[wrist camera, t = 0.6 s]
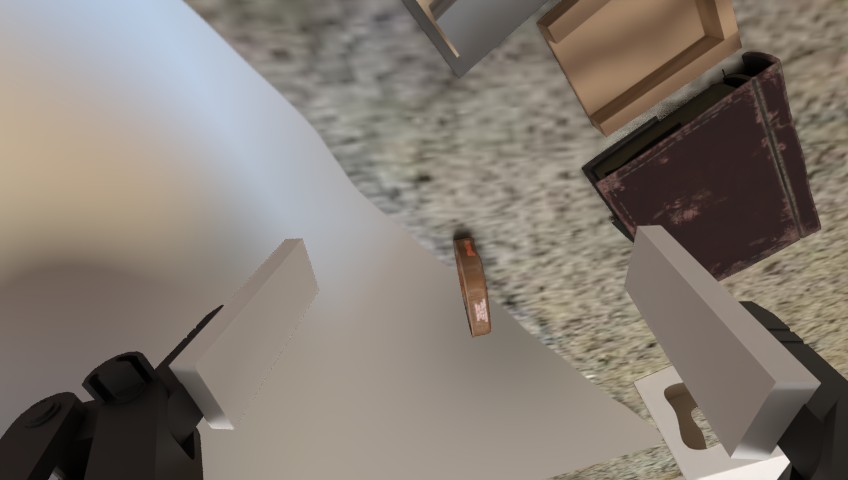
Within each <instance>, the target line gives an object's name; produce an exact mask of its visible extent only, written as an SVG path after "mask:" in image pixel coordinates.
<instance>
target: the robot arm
mask: <svg viewBox="0 0 848 480" xmlns="http://www.w3.org/2000/svg"><path fill="white" fill-rule="evenodd" d="M624 287H625V289H626V290H627V292H628V294H629V295H630V297H631V298H632V300H633V302H634V303H635V305H636V306H637V308H638V310H639V311H640V313H641V315H642V316H643V318H644V319H645V321H646V323H647V324H648V326H649V328H650V329H651V331H652V332H653V334H654V336H655V337H656V339H657V340H658V342H659V344H660V345H661V347H662V349H663V350H664V352H665V353H666V355H667V357H668V358H669V360H670V361H671V363H672V365H673V366H674V368H675V370H676V371H677V373H678V374H679V376H680V378H681V379H682V381H683V382H684V384H685V386H686V387H687V389H688V391H689V392H690V394H691V395H692V397H693V399H694V400H695V402H696V403H697V405H698V407H699V408H700V410H701V412H702V413H703V415H704V416H705V418H706V420H707V421H708V423H709V425H710V426H711V428H712V429H713V431H714V433H715V434H716V436H717V437H718V439H719V441H720V442H721V444H722V446H723V447H724V449H725V450H726V452H727V454H728V455H729V457H730V458H736V459H754V460H767V459H768V458H769V457H770V455H771V454H772V452H773V451H774V449H775V448H776V447H777V445H778V446H779V448H780V449H781V450H782V452H783V453H784V454H785V456H786V457H787V458H788V460H789V461H790V463H789V464H788V465H787V467H786V468H785V469H784V471H783V472H782V473H781V475H780V476H779V477H778V479H777V480H848V381H847V380H846V379H845V378H844V377H843V376H842V375H840V374H839V373H838V372H837V371H836V370H835V369H834V368H833V367H832V366H831V365H829V364H828V363H827V362H826V361H825V360H824V359H823V358H822V357H821V356H820V355H818V354H817V353H816V352H815V351H814V350H813V349H812V348H811V347H810V346H808V345H807V344H804V343H803V340H802V339H801V338H800V337H799V336H797V335H796V334H795V333H794V332H791V331H790V328H789V327H788V326H786V325H785V324H784V323H783V322H782V321H781V320H780V319H779V318H778V317H777V316H775V315H774V314H773V313H771V312H769V311H768V310H766V309H764V308H762V307H761V306H759V305H757V304H755V303H754V302H752V301H737V300H736V299H735V298H734V297H733V296H732V295H731V294H730V293H729V292H728V291H727V290H726V289H725V288H724V287H723V286H722V285H721V284H720V283H719V282H718V281H717V280H716V279H715V278H714V277H713V276H712V275H711V274H710V273H709V272H708V271H707V270H706V269H705V268H704V267H703V266H702V265H700V264H699V263H698V262H697V261H696V260H695V259H694V258H693V257H692V256H691V255H690V254H689V253H688V252H687V251H686V250H685V249H684V248H683V247H682V246H681V245H680V244H679V243H678V242H677V241H676V240H675V239H674V238H673V237H672V236H671V235H670V234H669V233H668V232H667V231H666V230H665V229H664V228H663V227H662V226H661V225H656V226H638V227H637V231H636V236H635V240H634V245H633V249H632V254H631V258H630V262H629V267H628V271H627V276H626V280H625V285H624ZM318 291H319V288H318V285H317V282H316V279H315V276H314V273H313V270H312V266H311V263H310V260H309V257H308V254H307V251H306V248H305V245H304V242H303V239H286V240H284V242H283V243H282V244H281V245H280V246H279V247H278V248H277V249H276V250H275V251H274V252H273V254H272V255H271V256H270V257H269V258H268V259H267V260H266V261H265V262H264V263H263V264H262V265H261V266H260V268H259V269H258V270H257V271H256V272H255V273H254V274H253V275H252V276H251V277H250V278H249V280H248V281H247V282H246V283H245V284H244V285H243V286H242V287H241V288H240V289H239V290H238V291H237V292H236V294H235V295H234V296H233V297H232V298H231V299H230V300H229V301H228V302H227V303H226V304H225V305H221V306H219V307H218V308H217V309H215V310H213V311H212V312H211V313H209V314H208V315H206V317H205V318H204V319H203V320H202V321H201V322H200V323H199V324H198V325H197V326H196V329H193V330H192V331H191V332H190V333H189V334H188V335H187V338H185V339H183V341H182V342H181V343H180V344H179V345H178V346H177V347H176V348H175V349H174V350H173V351H172V352H171V353H170V354H169V355H168V356H167V357H166V358H165V359H164V360H163V361H162V362H161V363H160V364H159V366H158V367H157V368H156V369H155V370H154V368H153V367H152V366H151V364H150V363H149V361H148V360H147V359H146V357H145V356H144V355H143V354H142V353H140V352H137V351H136V352H127V353H124V354H121V355H117V356H115V357H113V358H111V359H109V360H108V361H105V362H104V363H102V364H101V365H100V366H98V367H97V368H95V369H94V370H93V371H92V372H91V373H90V374H89V375H88V376H87V377H86V378H85V380H84V382H83V383H82V386H83V387H84V388H85V389H86V390H87V392H88V393H89V394H90V395H91V396H92V397H93V398H94V399H95V400H92V401H88V402H84V403H83V402H82V401H81V400H80V399H79V398H78V397H77V396H76V395H75V394H74V393H71V392H63V393H58V394H55V395H53V396H50V397H48V398H45V399H43V400H41V401H39V402H37V403H36V404H34V405H32V406H31V407H30V408H29V409H28V410H26V411H25V412H24V413H22V414H21V415H20V416H19V417H18V418H17V419H16V420H15V421H14V423H12V425H11V426H10V427H9V428H8V430H7V431H6V432H5V434H4V435H3V437H2V438H1V439H0V480H48V479H49V477H50V475H51V474H52V473H53V474H54V475H55V476H56V477H57V478H59V479H58V480H203V467H202V455H201V454H202V453H201V440H200V433H199V431H198V429H197V428H196V426H197V424H198V423H199V422H200V420H201V419H202V418H203V416H204V418H205V419H206V421H207V422H208V423H209V425H210V426H211V428H215V429H235V428H236V427H237V425H238V423H239V422H240V420H241V418H242V417H243V415H244V413H245V412H246V410H247V408H248V407H249V405H250V403H251V402H252V400H253V398H254V397H255V395H256V394H257V392H258V390H259V389H260V387H261V385H262V384H263V382H264V380H265V379H266V377H267V375H268V374H269V372H270V370H271V369H272V367H273V365H274V364H275V362H276V360H277V359H278V357H279V356H280V354H281V352H282V350H283V349H284V347H285V345H286V344H287V342H288V341H289V339H290V337H291V336H292V334H293V332H294V331H295V329H296V327H297V326H298V324H299V322H300V321H301V319H302V317H303V316H304V314H305V313H306V311H307V309H308V308H309V306H310V304H311V303H312V301H313V299H314V298H315V296H316V294H317V292H318Z"/></svg>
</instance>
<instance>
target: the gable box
mask: <svg viewBox="0 0 848 480" xmlns="http://www.w3.org/2000/svg"><path fill="white" fill-rule="evenodd" d="M634 385H635V386H636V388H637V390H638V392H639V394H640V396H641V398H642V400H643V401H644V403H645V405H646V407H647V409H648V411H649V413H650V414H651V416H652V418H653V420H654V422H655V424H656V426H657V427H658V429H659V431H660V433H661V435H662V437H663V439H664V440H665V442H666V444H667V446H668V448H669V450H670V452H671V454H672V455H673V457H674V459H675V461H676V463H677V465H678V467H679V468H680V470H681V472H682V474H683V476H684V478H685V479H686V480H777V479H778V477H779V476H780V475H781V473H782V472H783V471H784V469H785V468H786V467H787V465H788V464H789V463H790V461H789V460H788V458H787V457H786V456H785V454H784V453H783V452H782V450H781V449H780V448H779V446H778V445H777V447H776V448H775V449H774V451H773V452H772V454H771V455H770V457H769V458H768V459H767V460H754V459H736V458H730V457H729V455H728V454H727V452H726V450H725V449H724V447H723V446H722V444H721V443H720V444H718V445H716V446H714V447H711V448H708V449H707V448H706V444H705V440H704V436H703V434H702V431H701V430H700V428H699V427H698V426H697V424H696V423H695V422H694V420H693V419H692V417H691V411H692V410H693V409H694V408H696V407H698V405H697V403H696V402H695V400H694V399H693V397H692V395H691V394H690V392H689V391H688V389H687V387H686V386H685V384H684V382H683V381H682V379H681V378H680V376H679V374H678V373H677V371H676V370H675V368H674V366H673V365H671V366H669V367H667V368H664V369H662V370H660V371H657V372H655V373H653V374H651V375H648V376H646V377H644V378H641V379H639V380H637V381H634Z"/></svg>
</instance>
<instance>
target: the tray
mask: <svg viewBox="0 0 848 480" xmlns="http://www.w3.org/2000/svg"><path fill="white" fill-rule="evenodd" d="M537 25H538V26H539V28H540V30H541V32H542V34H543V36H544V37H545V39H546V41H547V43H548V45H549V47H550V48H551V50H552V52H553V54H554V56H555V57H556V59H557V61H558V63H559V65H560V67H561V68H562V70H563V72H564V74H565V76H566V78H567V79H568V81H569V83H570V85H571V87H572V88H573V90H574V92H575V94H576V96H577V98H578V99H579V101H580V103H581V105H582V107H583V108H584V110H585V112H586V114H587V116H588V118H589V119H590V121H591V123H592V125H593V126H594V127H595V128H597V129H598V130H599V131H600V132H601V133H602V134H604V135H605V136H606V137H607V136H609V135H610V134H612V133H613V132H615V131H616V130H618V129H619V128H621V127H622V126H624V125H625V124H627V123H628V122H630V121H631V120H633V119H634V118H636V117H637V116H639V115H640V114H642V113H643V112H645V111H646V110H648V109H649V108H651V107H652V106H654V105H655V104H657V103H659V102H660V101H662V100H663V99H665V98H666V97H668V96H669V95H671V94H672V93H674V92H675V91H677V90H678V89H680V88H681V87H683V86H684V85H686V84H687V83H689V82H690V81H692V80H693V79H695V78H696V77H698V76H699V75H701V74H702V73H704V72H705V71H707V70H708V69H710V68H711V67H713V66H714V65H716V64H717V63H719V62H720V61H722V60H723V59H725V58H726V57H728V56H729V55H731V54H733V53H734V52H736V51H737V50H739V49H740V48H742V45H741V41H740V37H739V32H738V28H737V24H736V20H735V15H734V11H733V7H732V3H731V0H562V1H561V2H560V3H559V4H557V5H556V6H555V7H554V8H553V9H552V10H551V11H549V12H548V13H547V14H546V15H545V16H544V17H542V18H541V19H540V20H539V21H538V22H537Z"/></svg>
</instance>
